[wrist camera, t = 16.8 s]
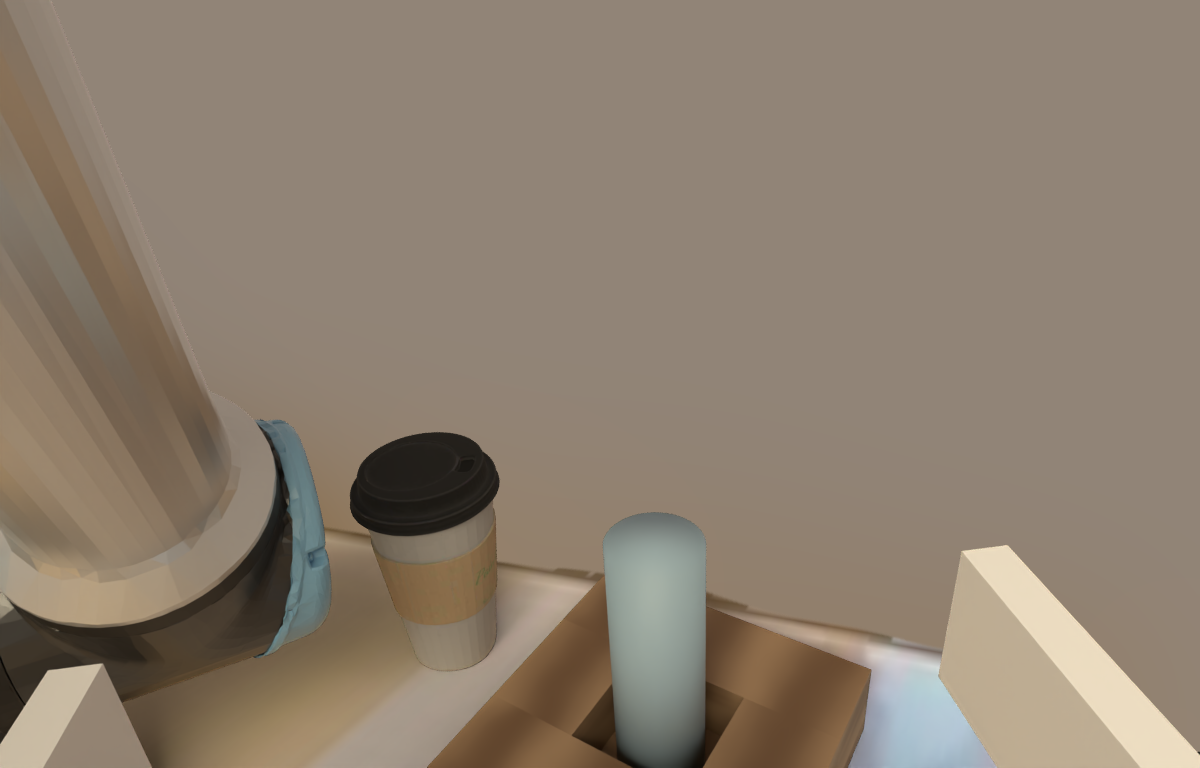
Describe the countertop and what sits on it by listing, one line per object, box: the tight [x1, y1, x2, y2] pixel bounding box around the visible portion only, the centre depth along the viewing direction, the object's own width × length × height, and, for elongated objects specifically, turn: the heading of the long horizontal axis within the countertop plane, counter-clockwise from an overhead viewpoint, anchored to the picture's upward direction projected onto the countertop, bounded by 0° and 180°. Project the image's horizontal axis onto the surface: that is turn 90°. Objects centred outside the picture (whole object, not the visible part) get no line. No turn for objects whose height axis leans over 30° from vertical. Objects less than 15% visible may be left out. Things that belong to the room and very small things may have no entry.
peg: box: [603, 512, 706, 768], centre depth 42 cm, size 5×5×16 cm
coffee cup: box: [350, 432, 499, 671], centre depth 54 cm, size 9×9×15 cm
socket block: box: [427, 575, 871, 768], centre depth 45 cm, size 18×18×5 cm
